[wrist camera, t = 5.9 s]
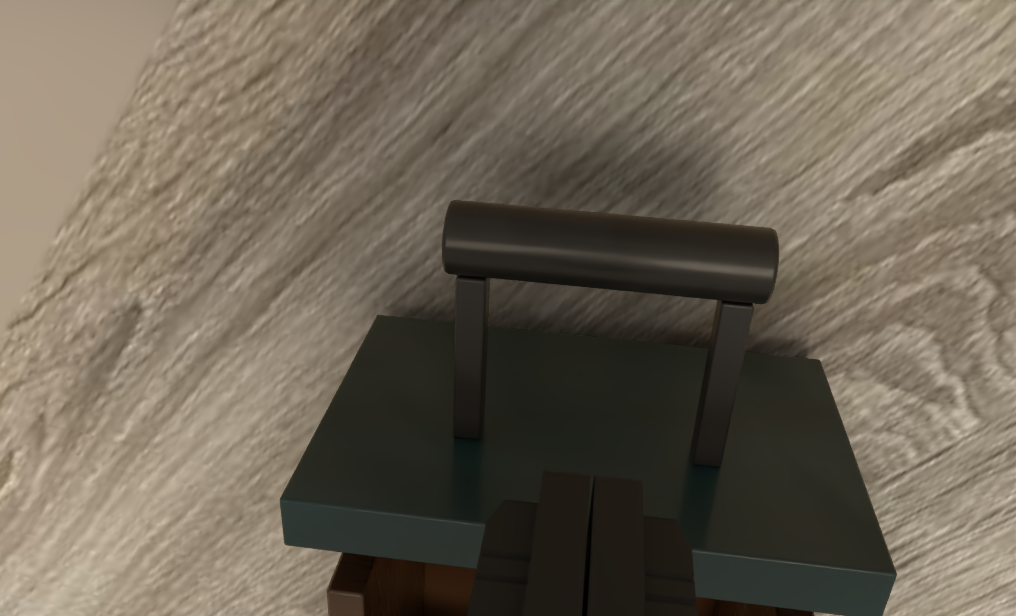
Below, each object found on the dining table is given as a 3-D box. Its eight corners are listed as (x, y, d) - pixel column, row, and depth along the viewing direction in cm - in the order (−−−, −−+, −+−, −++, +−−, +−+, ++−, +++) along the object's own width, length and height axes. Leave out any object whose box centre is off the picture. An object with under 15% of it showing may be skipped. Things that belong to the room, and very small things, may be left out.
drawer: (370, 120, 20) (251, 250, 14) (871, 160, 19) (990, 321, 13) (388, 661, 29) (320, 890, 23) (730, 708, 28) (758, 961, 22)
